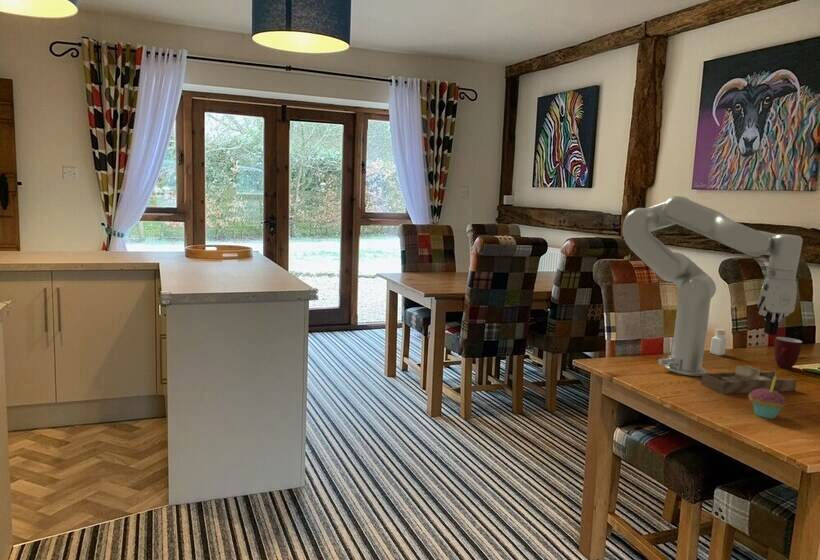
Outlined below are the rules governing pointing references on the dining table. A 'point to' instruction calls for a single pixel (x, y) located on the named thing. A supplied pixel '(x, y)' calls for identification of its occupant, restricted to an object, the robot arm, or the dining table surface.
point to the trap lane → (745, 383)
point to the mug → (787, 351)
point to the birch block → (746, 373)
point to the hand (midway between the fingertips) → (770, 333)
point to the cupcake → (767, 401)
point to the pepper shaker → (718, 343)
